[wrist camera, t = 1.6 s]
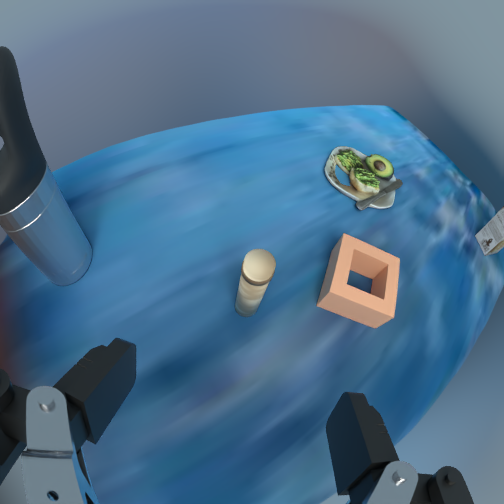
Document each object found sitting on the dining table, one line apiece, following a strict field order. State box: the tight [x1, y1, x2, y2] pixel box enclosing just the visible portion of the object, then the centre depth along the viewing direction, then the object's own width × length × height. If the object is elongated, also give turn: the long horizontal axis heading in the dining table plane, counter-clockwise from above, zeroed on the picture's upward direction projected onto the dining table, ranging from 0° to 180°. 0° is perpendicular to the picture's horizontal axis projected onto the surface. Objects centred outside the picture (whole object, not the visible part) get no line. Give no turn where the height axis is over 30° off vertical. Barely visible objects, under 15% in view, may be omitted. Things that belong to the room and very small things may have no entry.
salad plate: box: [324, 146, 403, 210], centre depth 51 cm, size 19×18×5 cm
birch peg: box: [235, 249, 276, 317], centre depth 30 cm, size 3×3×12 cm
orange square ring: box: [316, 233, 400, 329], centre depth 37 cm, size 10×10×5 cm
